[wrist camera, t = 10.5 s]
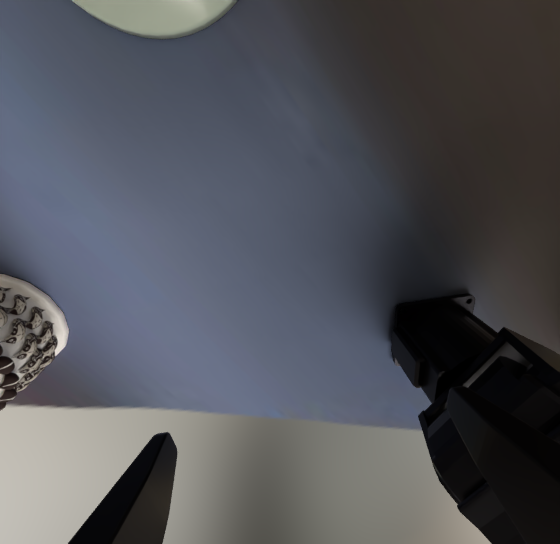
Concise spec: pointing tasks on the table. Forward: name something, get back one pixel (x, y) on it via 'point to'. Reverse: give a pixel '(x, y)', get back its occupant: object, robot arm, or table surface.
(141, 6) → the saucer
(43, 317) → the decorative candle
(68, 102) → the table surface
